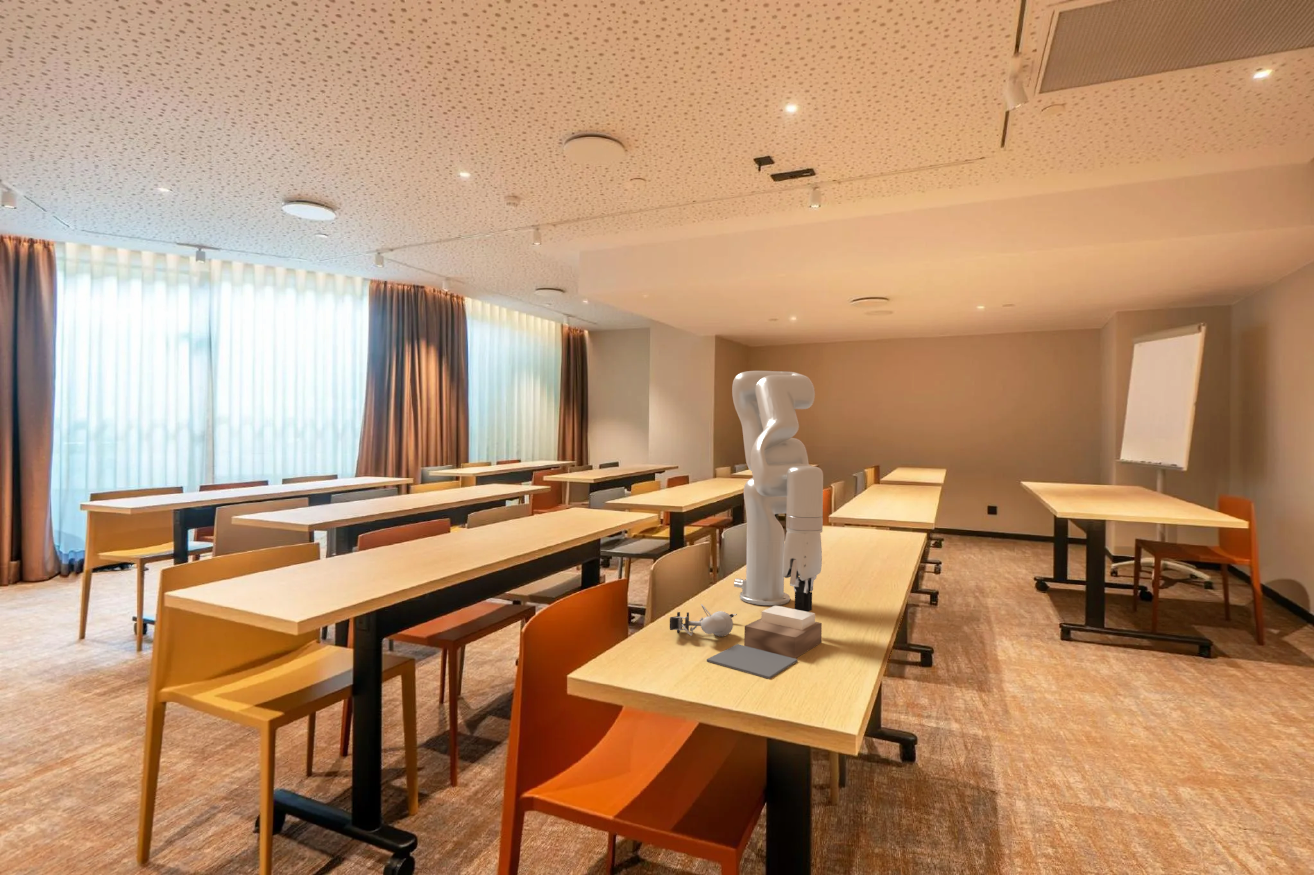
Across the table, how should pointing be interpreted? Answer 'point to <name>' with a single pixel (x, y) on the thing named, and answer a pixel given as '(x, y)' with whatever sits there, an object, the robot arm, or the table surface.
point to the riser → (782, 638)
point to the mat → (752, 661)
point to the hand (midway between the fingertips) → (803, 610)
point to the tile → (788, 617)
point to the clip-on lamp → (705, 623)
